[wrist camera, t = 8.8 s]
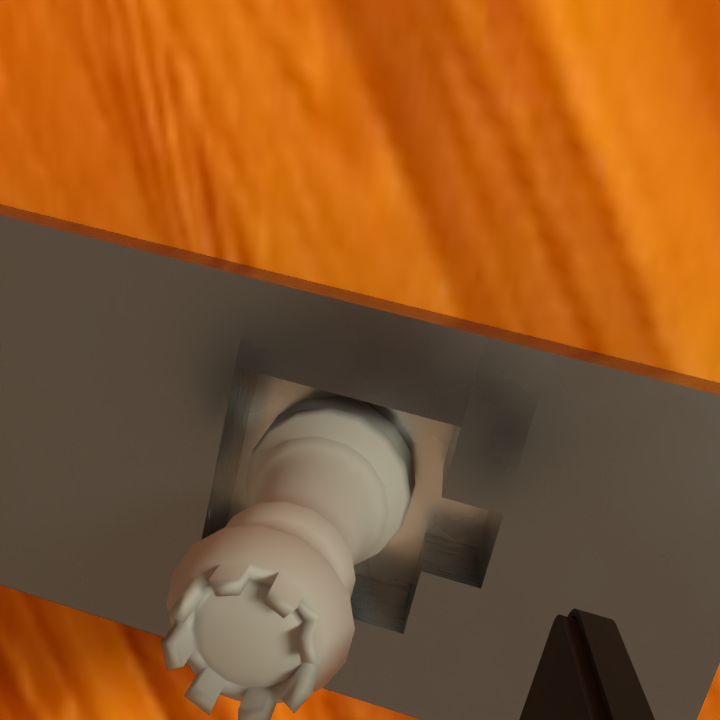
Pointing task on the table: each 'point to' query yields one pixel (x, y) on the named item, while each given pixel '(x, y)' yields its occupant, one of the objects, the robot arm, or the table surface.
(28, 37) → the table surface
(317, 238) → the table surface
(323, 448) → the rook chess piece
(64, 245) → the pocket plate
